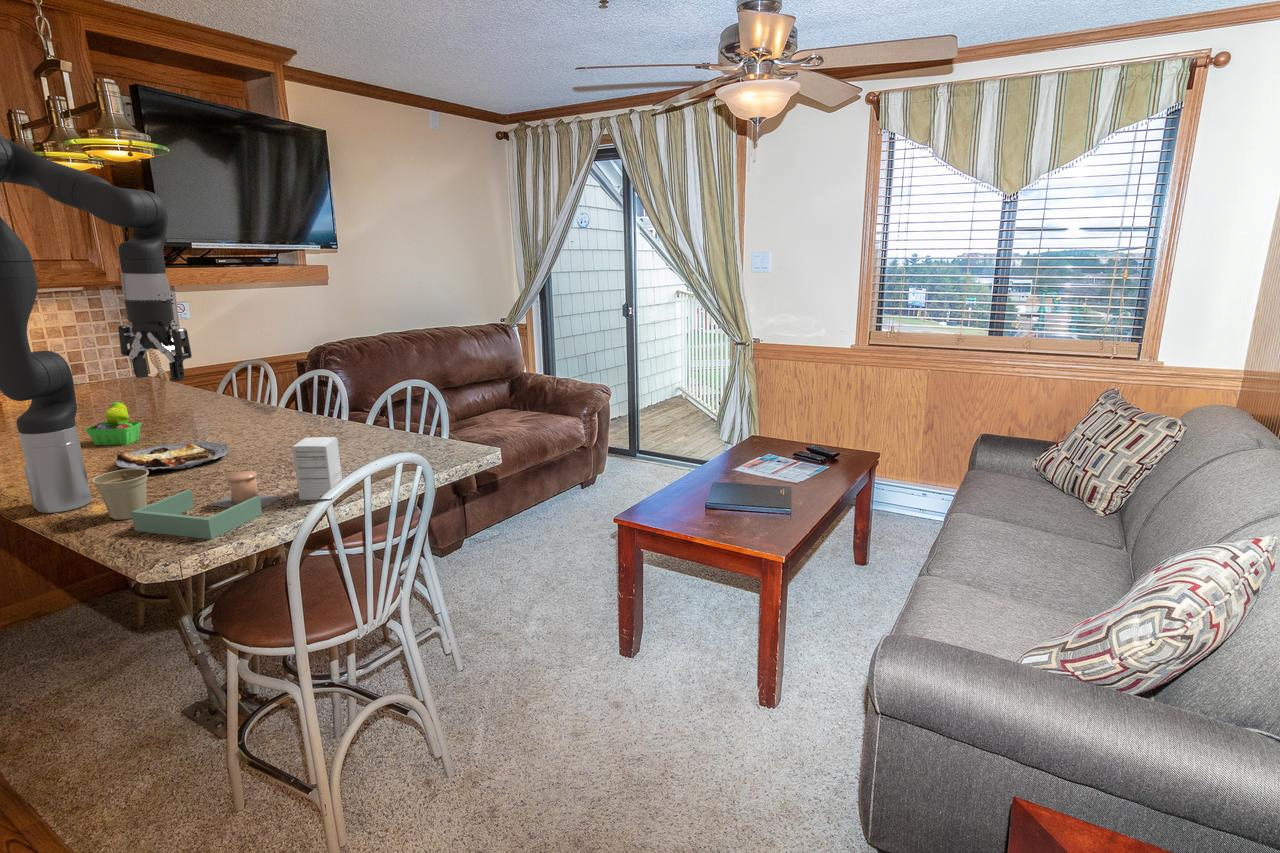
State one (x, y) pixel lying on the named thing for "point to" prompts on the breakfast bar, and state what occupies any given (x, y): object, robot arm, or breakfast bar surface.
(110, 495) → the flower pot
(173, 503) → the green u-shaped frame
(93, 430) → the fruit basket
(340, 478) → the supplement box
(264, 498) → the slate mat
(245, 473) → the tan round knob
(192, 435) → the breakfast bar surface
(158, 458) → the food plate
